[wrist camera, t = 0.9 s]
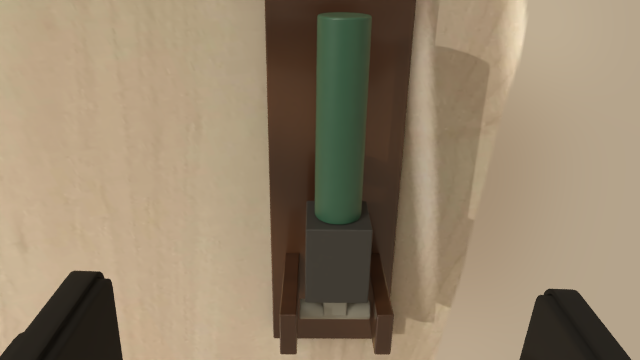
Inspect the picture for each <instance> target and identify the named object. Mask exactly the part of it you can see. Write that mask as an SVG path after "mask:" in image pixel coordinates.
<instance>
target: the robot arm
mask: <svg viewBox="0 0 640 360" xmlns="http://www.w3.org/2000/svg"><path fill="white" fill-rule="evenodd" d="M0 360H123V358H122V351H121V344H120V337H119V329H118V322H117V315H116V308H115V301H114V293H113V286H112V282H111V280H110V279H104V276H103V274H102V273H101V272H95V271H72V272H71V273H70V274H69V275H68V276H67V278H66V279H65V280H64V281H63V283H62V284H61V285H60V287H59V288H58V289H57V290H56V292H55V293H54V294H53V296H52V297H51V298H50V299H49V301H48V302H47V303H46V305H45V306H44V307H43V308H42V310H41V311H40V312H39V314H38V315H37V316H36V317H35V319H34V320H33V321H32V323H31V324H30V325H29V326H28V328H27V329H26V330H25V332H23V333H21V334H19V335H18V336H17V337H16V338H15V339H14V340H13V341H12V342H11V343H10V345H9V346H8V347H7V349H6V350H5V351H4V352H3V354H2V355H1V356H0ZM520 360H631V359H630V357H629V356H628V355H627V354H626V352H625V351H624V350H623V348H622V347H621V346H620V345H619V343H618V342H617V341H616V339H615V338H614V337H613V336H612V335H611V333H610V332H609V331H608V329H607V328H606V327H605V325H604V324H603V323H602V322H601V320H600V319H599V318H598V317H597V315H596V314H595V313H594V311H593V310H592V309H591V308H590V306H589V305H588V304H587V302H586V301H585V300H584V299H583V297H582V296H581V295H580V294H579V293H578V292H577V291H576V290H567V289H548V290H546V291H545V293H544V295H539V296H538V297H537V299H536V302H535V305H534V309H533V312H532V316H531V320H530V324H529V327H528V331H527V335H526V338H525V342H524V345H523V349H522V353H521V356H520Z"/></svg>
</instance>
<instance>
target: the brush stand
mask: <svg viewBox="0 0 640 360" xmlns="http://www.w3.org/2000/svg"><path fill="white" fill-rule="evenodd" d="M415 5H416V0H265V25H266V64H267V102H268V140H269V178H270V216H271V254H272V293H273V331H274V338H280V353H281V354H296V353H297V338H351V339H372V342H373V348H374V353H375V354H390V351H391V341H392V330H393V319H394V315H393V310H392V306H391V301H390V292H391V280H392V269H393V257H394V246H395V234H396V223H397V212H398V200H399V189H400V177H401V166H402V154H403V143H404V131H405V120H406V108H407V97H408V85H409V74H410V63H411V51H412V40H413V28H414V17H415ZM331 12H349V13H362V14H368V15H371V17H372V28H371V46H370V64H369V82H368V100H367V119H366V137H365V155H364V173H363V191H362V201H366V202H367V207H368V211H369V216H370V221H371V225H372V230H373V234H372V249H371V264H370V279H369V294H368V300H369V301H370V319H300V317H299V311H300V299H305V251H306V202H307V201H315V141H316V66H317V16H318V15H319V14H321V13H331Z"/></svg>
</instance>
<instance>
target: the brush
mask: <svg viewBox="0 0 640 360" xmlns="http://www.w3.org/2000/svg"><path fill="white" fill-rule="evenodd" d="M371 28H372V17H371V15H368V14H362V13H349V12H331V13H321V14H319V15H318V16H317V66H316V141H315V201H307V202H306V251H305V299H300V311H299V317H300V319H370V301H369V300H368V294H369V279H370V264H371V249H372V234H373V230H372V225H371V221H370V216H369V211H368V207H367V202H366V201H362V191H363V173H364V155H365V137H366V119H367V100H368V82H369V64H370V46H371Z"/></svg>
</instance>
